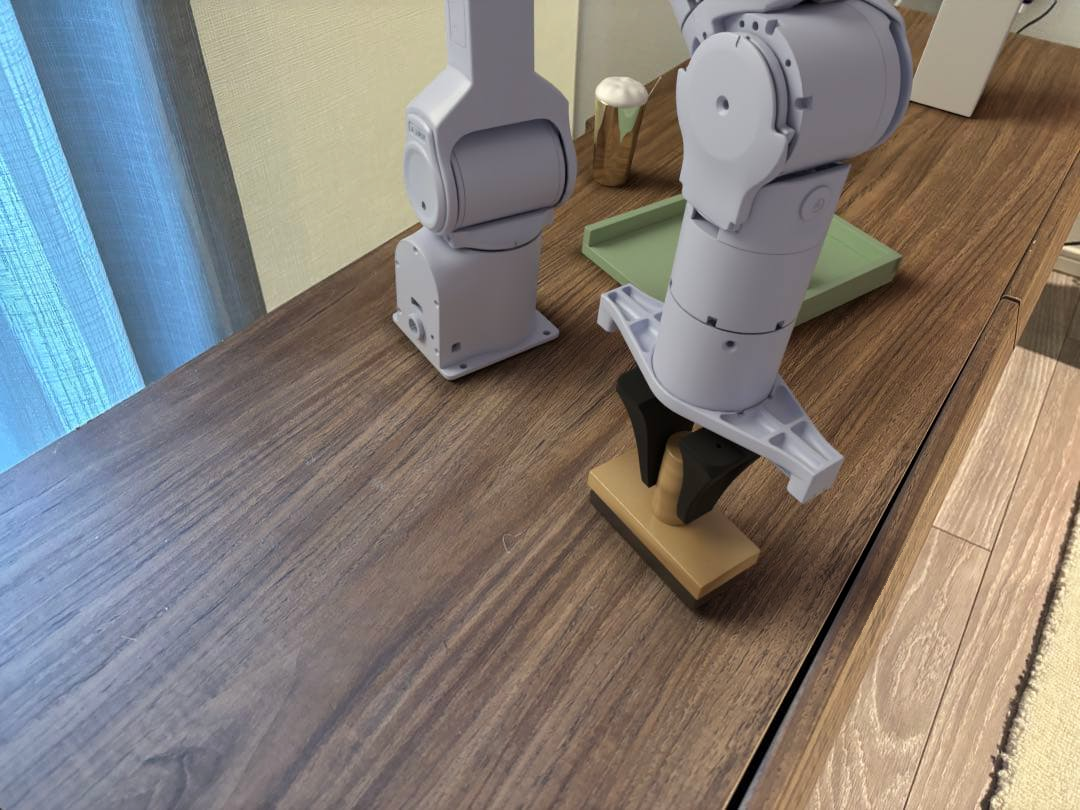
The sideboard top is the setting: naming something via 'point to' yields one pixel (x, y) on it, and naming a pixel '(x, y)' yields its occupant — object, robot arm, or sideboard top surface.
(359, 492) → the sideboard top surface
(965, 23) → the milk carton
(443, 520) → the sideboard top surface
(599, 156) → the milkshake
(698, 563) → the brush
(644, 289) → the tray
